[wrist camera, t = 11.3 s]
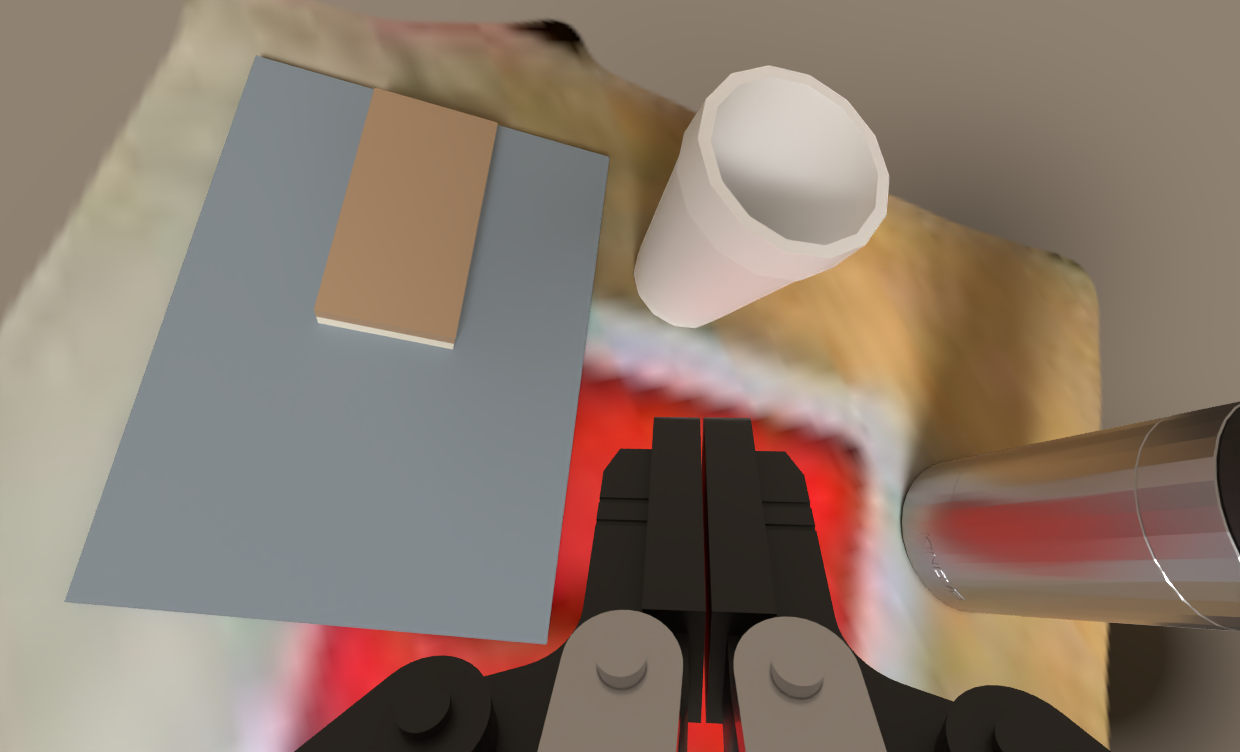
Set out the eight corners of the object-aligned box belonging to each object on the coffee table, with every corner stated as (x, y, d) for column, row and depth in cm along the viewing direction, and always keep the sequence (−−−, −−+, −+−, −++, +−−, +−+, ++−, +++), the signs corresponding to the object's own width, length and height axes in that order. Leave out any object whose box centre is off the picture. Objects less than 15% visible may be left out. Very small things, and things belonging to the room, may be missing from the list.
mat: (606, 162, 41) (609, 157, 41) (544, 643, 32) (546, 644, 32) (258, 63, 36) (255, 55, 36) (71, 601, 27) (64, 601, 27)
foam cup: (770, 261, 43) (911, 142, 31) (721, 380, 40) (858, 296, 28) (645, 184, 42) (741, 30, 30) (582, 300, 38) (663, 177, 26)
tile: (318, 322, 33) (375, 108, 37) (453, 349, 35) (493, 141, 39) (313, 309, 31) (374, 87, 35) (455, 338, 33) (497, 122, 37)
